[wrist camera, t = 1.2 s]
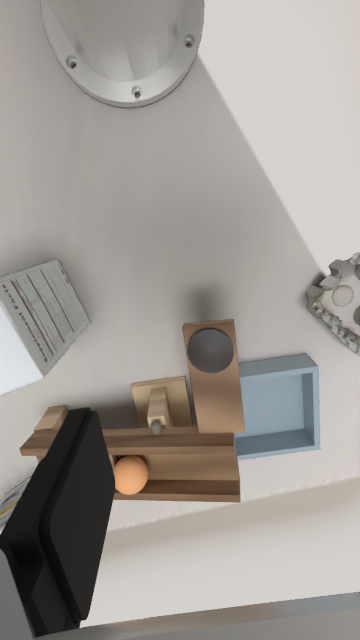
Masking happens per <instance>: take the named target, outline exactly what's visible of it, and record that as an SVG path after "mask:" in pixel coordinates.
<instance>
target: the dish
mask: <svg viewBox="0 0 360 640" xmlns="http://www.w3.org/2000/svg"><path fill="white" fill-rule="evenodd" d="M238 366H239V375H240V385H241V394H242V403H243V413H244V422H245V433H234V434H235V443H236V451H237V460H244V459H251V458H259V457H266V456H274V455H281V454H289V453H296V452H304V451H311V450H318V449H320V414H319V368H318V365H317V364H316V363H315V362H314V361H313V360H312V359H311V358H310V357H309V356H308V355H307V354H306V353H305V354H298V355H292V356H285V357H278V358H271V359H264V360H257V361H250V362H243V363H238Z"/></svg>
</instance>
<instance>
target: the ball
mask: <svg viewBox="0 0 360 640" xmlns="http://www.w3.org/2000/svg"><path fill="white" fill-rule="evenodd" d="M113 472H114V476H115V487H116V489H117V490H118V491H119V492H121V493H123V494H126V495H132V494H136V493H137V492H139V491H140V490H141V489H142V488H143V487H144V486H145V484H146V482H147V479H148V469H147V466H146V464H145V462H144V461H143V460H142V459H141V458H139V457H137V456H133V455H129V456H125V457H123V458H122V459H120V460H119V461H118V462H117V464H116V465H115V467H114V469H113Z"/></svg>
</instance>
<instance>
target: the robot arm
mask: <svg viewBox="0 0 360 640" xmlns="http://www.w3.org/2000/svg"><path fill="white" fill-rule="evenodd" d="M41 11H42V18H43V24H44V27H45V31H46V34H47V37H48V40H49V43H50V45H51V47H52V49H53V51H54V53H55V55H56V57H57V59H58V61H59V62H60V64H61V65H62V67H63V68H64V70H65V71H66V72H67V74H68V75H69V76H70V77H71V78H72V80H73V81H74V82H75V83H76V84H77V85H78V86H79V87H80V88H82V89H83V90H84V91H85V92H86V93H87V94H89V95H91V96H92V97H94V98H96V99H98V100H99V101H101V102H104V103H107V104H110V105H113V106H118V107H128V108H130V107H139V106H144V105H147V104H150V103H153V102H156V101H158V100H159V99H161V98H163V97H164V96H166V95H167V94H169V93H170V92H171V91H172V90H173V89H174V88H175V87H176V86H177V85H178V84H179V83H180V82H181V81H182V79H183V78H184V77H185V75H186V74H187V72H188V71H189V69H190V67H191V65H192V63H193V61H194V59H195V57H196V54H197V51H198V48H199V44H200V41H201V36H202V29H203V23H204V0H41ZM186 44H191V46H192V47H190V48H189V47H186ZM74 64H76V67H75V68H73V69H72V66H73V65H74ZM136 93H140V94H141V95H140V97H139V98H136V97H135V94H136ZM114 493H115V476H114V472H113V469H112V465H111V461H110V458H109V454H108V450H107V447H106V443H105V439H104V436H103V432H102V429H101V425H100V421H99V418H98V414H97V412H96V411H91V409H90V408H89V407H87V408H80V409H73V410H70V411H69V412H68V414H67V416H66V418H65V420H64V422H63V424H62V425H61V427H60V429H59V431H58V433H57V435H56V437H55V439H54V441H53V442H52V444H51V446H50V448H49V450H48V452H47V454H46V456H45V457H44V458H43V459H42V460H41V461H40V462H39V464H38V466H37V467H36V469H35V471H34V473H33V475H32V477H31V479H30V480H29V482H28V484H27V486H26V488H25V490H24V492H23V493H22V495H21V497H20V499H19V501H18V503H17V505H16V506H15V508H14V510H13V512H12V514H11V516H10V517H9V519H8V521H7V523H6V525H5V527H4V529H3V530H2V532H1V534H0V640H360V592H355V593H346V594H337V595H329V596H320V597H313V598H304V599H295V600H287V601H278V602H270V603H262V604H254V605H247V606H238V607H231V608H222V609H215V610H206V611H198V612H190V613H182V614H174V615H166V616H158V617H151V618H144V619H137V620H130V621H124V622H117V623H110V624H103V625H97V626H89V627H83V628H79V627H80V622H81V621H82V620H86V619H87V617H88V614H89V611H90V606H91V601H92V596H93V592H94V587H95V582H96V578H97V573H98V568H99V563H100V559H101V554H102V549H103V544H104V540H105V535H106V530H107V526H108V521H109V516H110V512H111V507H112V502H113V497H114Z"/></svg>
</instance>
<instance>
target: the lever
mask: <svg viewBox="0 0 360 640" xmlns="http://www.w3.org/2000/svg"><path fill="white" fill-rule="evenodd" d="M182 330H183V336H184V342H185V349H186V355H187V361H188V367H189V374H190V380H191V386H192V392H193V398H194V405H195V411H196V417H197V423H198V427H162V428H161V424H160V422H159V421H153V422H152V423H151V428H124V429H102V432H103V436H104V439H105V443H106V447H107V450H108V454H109V458H110V461H111V465H112V469H114V467H115V465H116V464H117V462H118V461H119V460H120V459H122V458H123V457H125V456H129V455H133V456H137V457H139V458H141V459H142V460H143V461H144V462H145V464H146V466H147V469H148V479H147V482H146V484H145V486H144V487H143V488H142V489H141V490H140V491H139V492H137V493H136V494H132V495H126V494H123V493H121V492H119V491H118V490H117V489H116V487H115V493H114V497H113V500H157V501H202V502H240V476H239V468H238V460H237V451H236V443H235V434H234V433H245V422H244V413H243V403H242V394H241V385H240V375H239V366H238V356H237V347H236V337H235V328H234V319H229V320H219V321H208V322H197V323H187V324H184V325H183V327H182ZM58 431H59V430H48V431H35V432H34V433H33V434H32V435H31V437H30V438H29V439H28V440H27V441H26V442H25V443H24V444H23V445H22V447H21V448H20V452H21V454H22V456H37V459H38V462H40V461H41V460H42V459H43V458H44V457H45V456H46V454H47V452H48V450H49V448H50V446H51V444H52V442H53V441H54V439H55V437H56V435H57V433H58Z"/></svg>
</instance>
